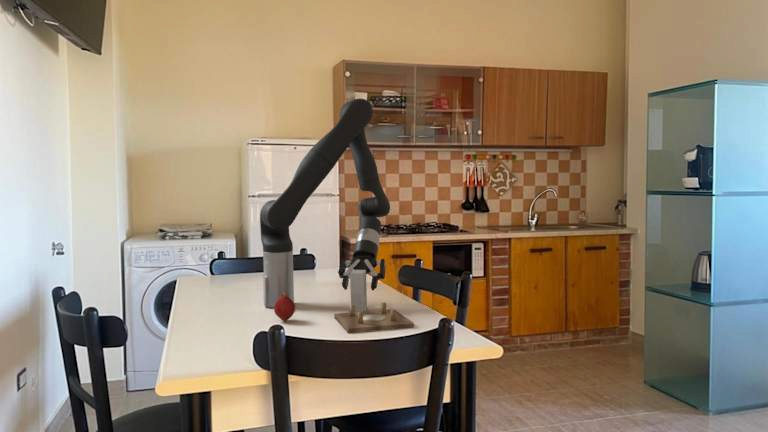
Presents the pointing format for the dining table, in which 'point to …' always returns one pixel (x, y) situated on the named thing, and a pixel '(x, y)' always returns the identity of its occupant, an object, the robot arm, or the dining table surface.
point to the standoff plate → (372, 320)
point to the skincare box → (358, 290)
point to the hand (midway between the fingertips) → (358, 288)
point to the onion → (284, 307)
